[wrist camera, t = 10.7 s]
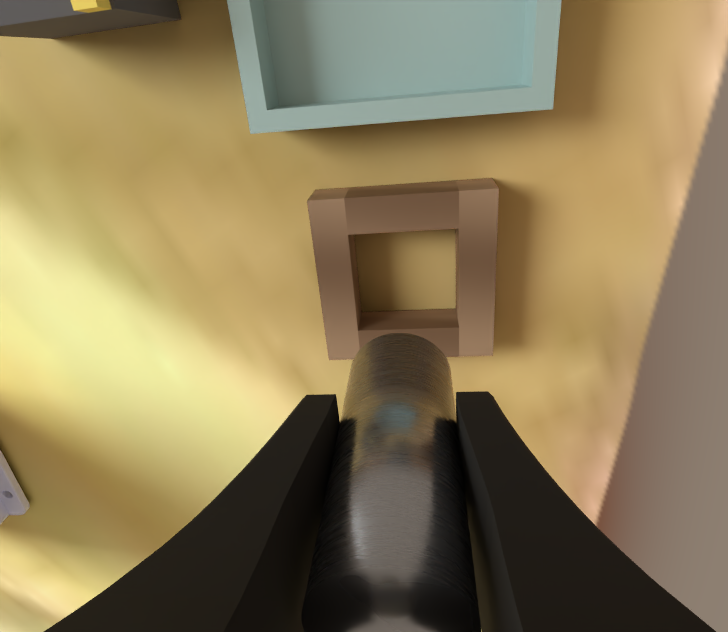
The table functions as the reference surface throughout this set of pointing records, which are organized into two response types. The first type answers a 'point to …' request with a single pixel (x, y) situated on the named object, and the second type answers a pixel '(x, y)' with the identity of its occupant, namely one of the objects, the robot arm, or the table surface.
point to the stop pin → (395, 502)
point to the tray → (392, 59)
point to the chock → (80, 16)
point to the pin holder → (400, 214)
